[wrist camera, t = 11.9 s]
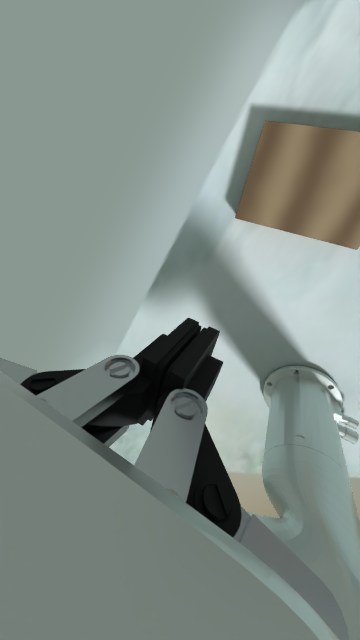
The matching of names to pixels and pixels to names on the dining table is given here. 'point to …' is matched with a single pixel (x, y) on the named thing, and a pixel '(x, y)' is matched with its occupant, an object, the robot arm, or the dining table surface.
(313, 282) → the dining table surface
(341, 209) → the board
